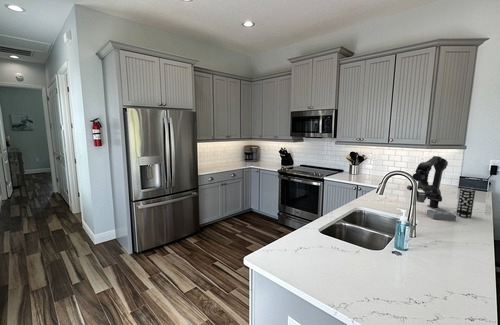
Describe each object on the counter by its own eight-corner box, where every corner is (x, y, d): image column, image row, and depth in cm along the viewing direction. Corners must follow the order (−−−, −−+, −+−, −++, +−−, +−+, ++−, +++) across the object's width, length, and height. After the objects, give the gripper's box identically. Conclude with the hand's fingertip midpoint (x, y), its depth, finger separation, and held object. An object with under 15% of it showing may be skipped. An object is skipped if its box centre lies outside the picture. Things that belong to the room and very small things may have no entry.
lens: (415, 200, 186) (416, 191, 185) (422, 200, 185) (423, 192, 184) (418, 202, 181) (419, 193, 180) (425, 202, 180) (427, 193, 179)
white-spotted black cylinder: (474, 218, 172) (478, 191, 169) (462, 218, 172) (466, 191, 169) (464, 214, 180) (468, 188, 177) (453, 214, 180) (456, 188, 178)
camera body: (426, 214, 178) (427, 207, 177) (447, 216, 175) (448, 209, 175) (433, 219, 169) (434, 211, 168) (455, 221, 166) (456, 213, 166)
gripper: (414, 181, 175) (411, 201, 177) (443, 182, 171) (440, 203, 174) (407, 178, 186) (405, 197, 188) (434, 179, 182) (432, 199, 184)
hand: (420, 199), depth 183 cm, fingers closed on lens, 5 cm apart
